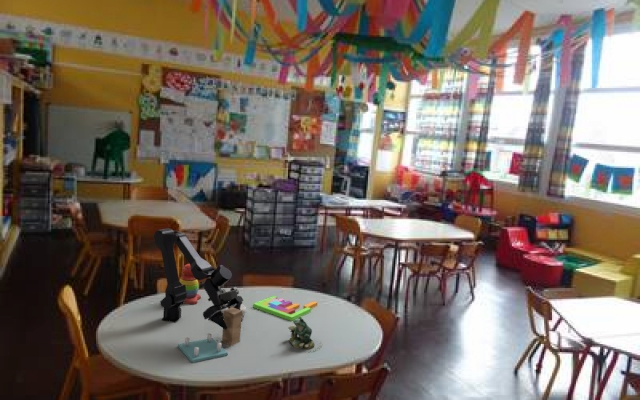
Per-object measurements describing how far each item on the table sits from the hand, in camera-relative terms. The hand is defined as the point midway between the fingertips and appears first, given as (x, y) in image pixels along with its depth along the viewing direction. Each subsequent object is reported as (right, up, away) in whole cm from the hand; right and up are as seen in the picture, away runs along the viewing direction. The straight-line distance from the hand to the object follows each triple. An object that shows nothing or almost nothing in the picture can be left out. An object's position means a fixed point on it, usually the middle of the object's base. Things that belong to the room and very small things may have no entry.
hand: (234, 325), depth 201 cm
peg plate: (-10, -7, -9) cm, 16 cm away
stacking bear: (-29, +2, +41) cm, 51 cm away
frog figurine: (+26, -9, +7) cm, 28 cm away
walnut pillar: (-2, -7, +2) cm, 7 cm away
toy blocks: (+18, -3, +45) cm, 48 cm away
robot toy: (-7, -3, +28) cm, 29 cm away
